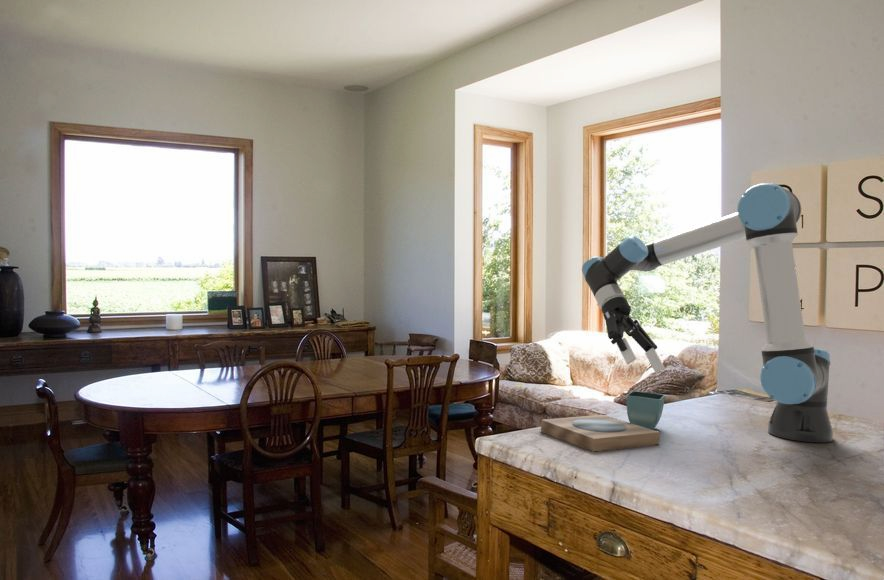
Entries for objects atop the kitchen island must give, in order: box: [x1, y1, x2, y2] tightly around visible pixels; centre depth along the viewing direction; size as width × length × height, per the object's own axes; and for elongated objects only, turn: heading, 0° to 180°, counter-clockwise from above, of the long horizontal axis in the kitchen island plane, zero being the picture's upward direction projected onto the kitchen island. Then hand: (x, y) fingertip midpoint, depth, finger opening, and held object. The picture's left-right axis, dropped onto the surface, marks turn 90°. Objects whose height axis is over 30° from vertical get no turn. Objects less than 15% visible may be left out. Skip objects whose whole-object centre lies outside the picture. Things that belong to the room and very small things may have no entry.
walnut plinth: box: [540, 414, 661, 452], centre depth 170 cm, size 20×20×3 cm
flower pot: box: [625, 390, 666, 430], centre depth 182 cm, size 9×9×9 cm
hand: (646, 365), depth 184 cm, fingers open, 13 cm apart
